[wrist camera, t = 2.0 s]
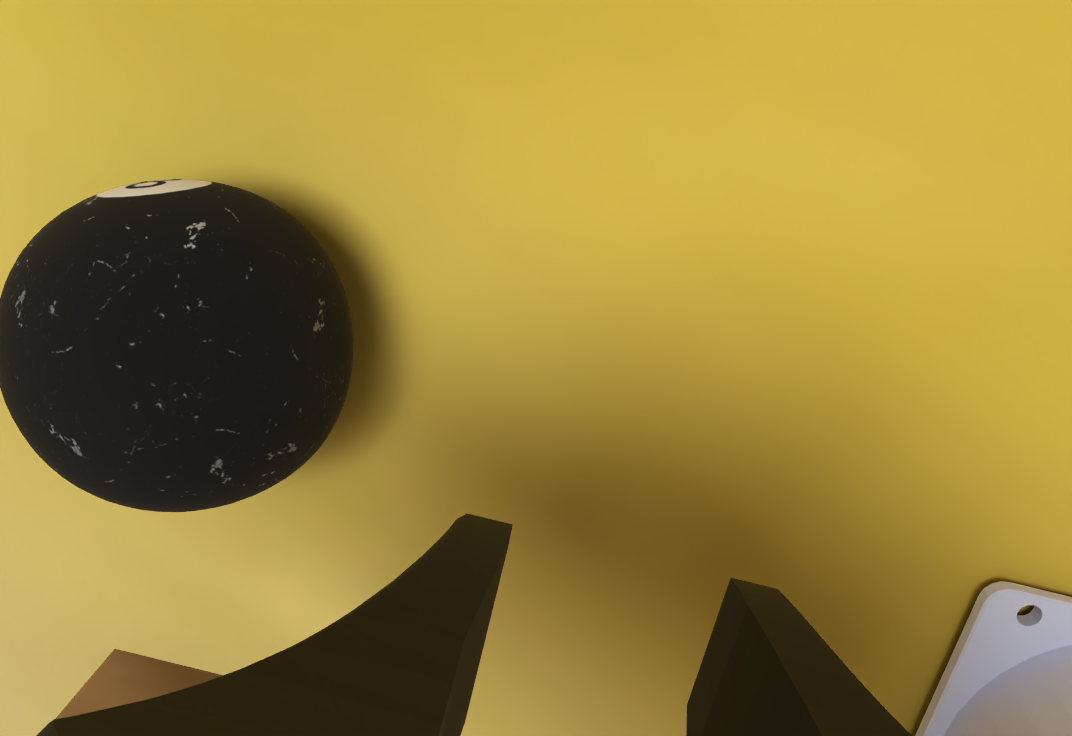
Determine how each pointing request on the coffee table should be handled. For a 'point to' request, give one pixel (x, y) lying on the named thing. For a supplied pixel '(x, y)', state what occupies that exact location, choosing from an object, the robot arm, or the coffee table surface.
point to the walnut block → (132, 682)
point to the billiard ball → (174, 345)
